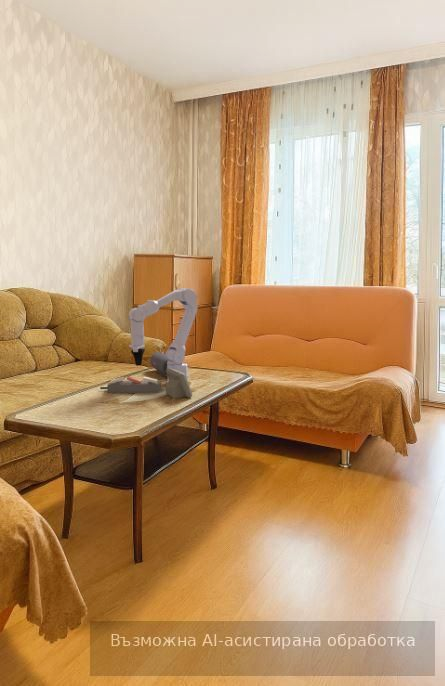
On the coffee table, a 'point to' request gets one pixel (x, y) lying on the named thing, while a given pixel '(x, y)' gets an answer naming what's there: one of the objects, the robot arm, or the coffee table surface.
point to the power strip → (133, 387)
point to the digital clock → (177, 384)
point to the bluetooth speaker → (159, 362)
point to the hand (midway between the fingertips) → (138, 365)
